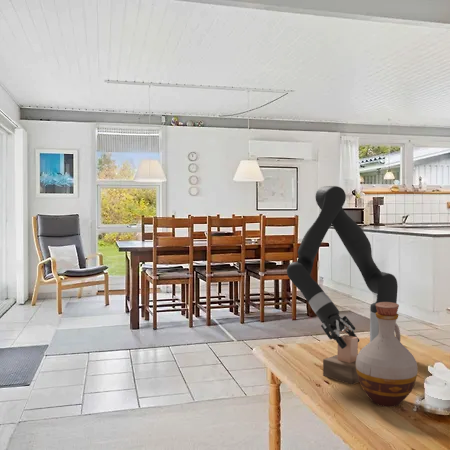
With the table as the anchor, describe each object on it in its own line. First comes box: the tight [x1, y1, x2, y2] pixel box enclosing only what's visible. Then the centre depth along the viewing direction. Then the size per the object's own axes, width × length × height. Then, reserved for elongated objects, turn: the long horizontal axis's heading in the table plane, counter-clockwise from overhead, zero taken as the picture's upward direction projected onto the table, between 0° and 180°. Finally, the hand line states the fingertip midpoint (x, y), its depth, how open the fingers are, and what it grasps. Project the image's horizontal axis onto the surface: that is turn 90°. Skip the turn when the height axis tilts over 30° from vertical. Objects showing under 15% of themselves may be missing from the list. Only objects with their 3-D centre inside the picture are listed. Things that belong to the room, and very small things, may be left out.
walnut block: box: [322, 354, 360, 386], centre depth 169 cm, size 12×12×6 cm
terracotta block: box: [337, 334, 359, 363], centre depth 169 cm, size 5×5×8 cm
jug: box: [356, 302, 418, 408], centre depth 147 cm, size 20×18×30 cm
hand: (351, 344), depth 168 cm, fingers open, 8 cm apart
